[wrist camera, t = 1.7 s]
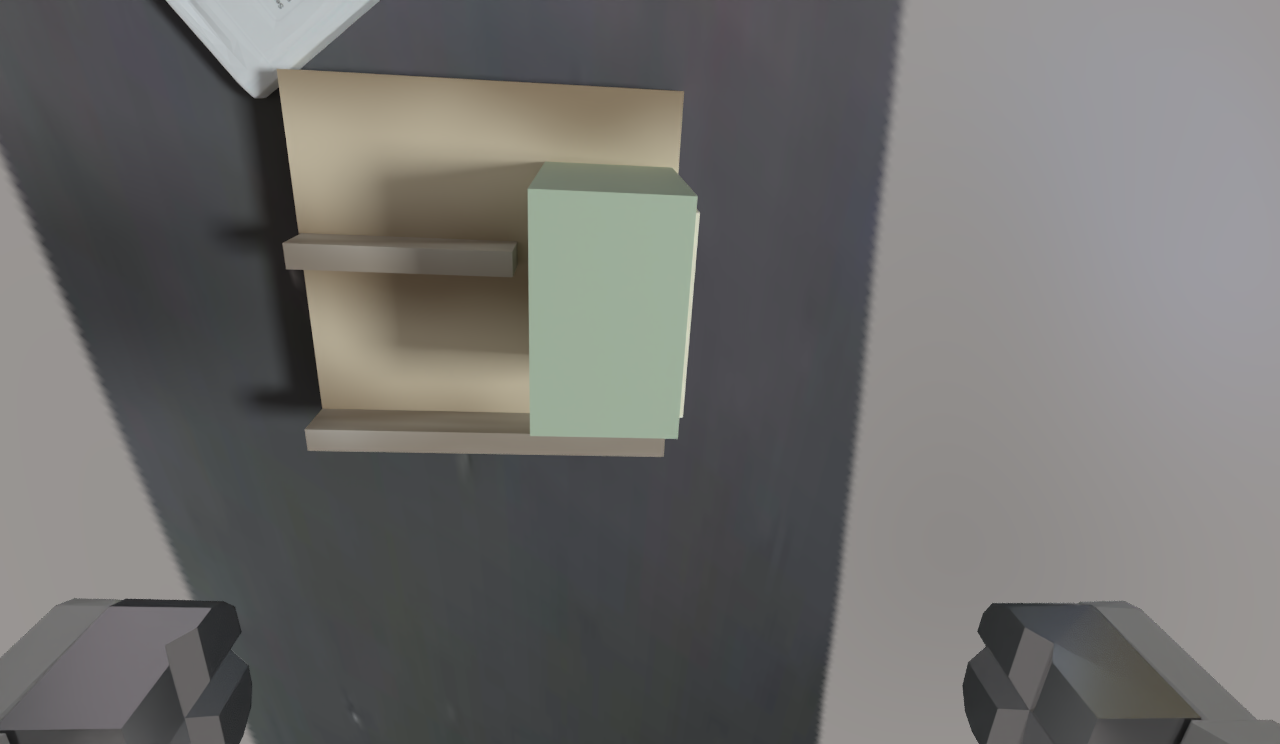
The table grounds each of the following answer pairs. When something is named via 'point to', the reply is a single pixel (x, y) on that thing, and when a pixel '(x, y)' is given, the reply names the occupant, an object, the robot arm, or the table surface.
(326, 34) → the external hard drive
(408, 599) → the table surface
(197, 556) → the table surface
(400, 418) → the shelf
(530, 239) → the tea box
